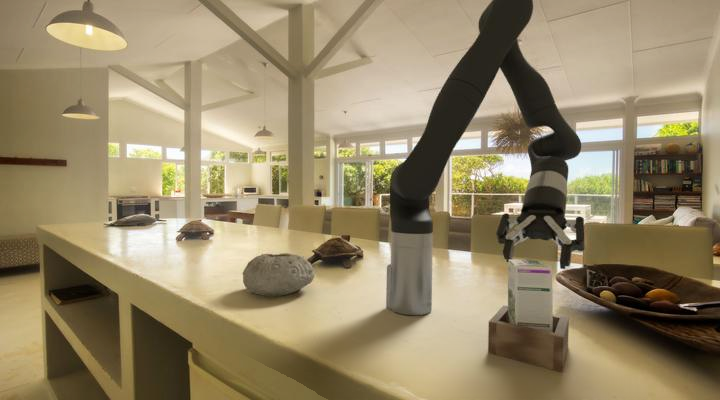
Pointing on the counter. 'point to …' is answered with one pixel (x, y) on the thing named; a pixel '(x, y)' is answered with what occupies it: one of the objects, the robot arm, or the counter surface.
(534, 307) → the syrup box
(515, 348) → the walnut collar
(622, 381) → the counter surface
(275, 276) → the grey carved stone
